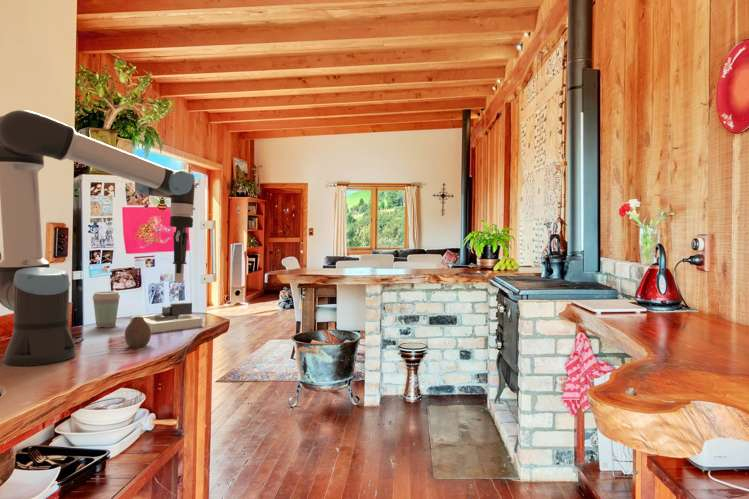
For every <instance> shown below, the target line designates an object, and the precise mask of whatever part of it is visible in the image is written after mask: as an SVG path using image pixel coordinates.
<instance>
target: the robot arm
mask: <svg viewBox="0 0 749 499" xmlns="http://www.w3.org/2000/svg"><path fill="white" fill-rule="evenodd" d="M44 157H48V158H51V159H52V158H53V159H55V160H58V161H63V160H70V161H73V162H75V163H78V164H82V165H84V166H87V167H90V168H94V169H97V170H98V171H99V170H100V171H102V172H105V173H108V174H111V175H114V176H116V177H120V178H122V179H125V180H128V181H131V182H133V183H134V189H135V191H136V193H137V194H138V195H143V196H147V197H148V196H149V197H158V198H167V199H170V212H169V213H170V214H169V215H171V216H169V226H170V227H173V228H175V231H174V232H173V236H172V238H173V262H172V264H173V265H174V283H178V284H180V283H181V284H183V283H184V276H185V275H184V273H185V265H187V264H188V263H187V262H186V261H187V259H186V256H187V248H188V247H187V246H188V240H189V233H188V232H187V228H190V229H192V228H193V227H194V226H193V225H194V218H193V217H192V216H194V211H195V210H196V207H194V206H195V205H194V203H195V201H194V200H195V188H196V184H195V181H196V180H195V175H194V173H191V172H187V171H185V170H180V169H179V170H178V169H177V170H173V169H171V168H168V167H165V166H163V165H161V164H158V163H156V162H153V161H150V160H147V159H145V158H142V157H139V156H138V155H135V154H133V153H130V152H127V151H125V150H122V149H119V148H117V147H114V146H112V145H109V144H106V143H104V142H102V141H99V140H96V139H94V138H91V137H90V136H89V137H88V136H86V135H84V134H81V133H79V132H77V131H76V129H75V128H74V127H73V126H70V125H69V124H66V123H63V122H62V121H59V120H56V119H55V118H54V119H53V118H51V117H49V116H46V115H43V114H41V113H38V112H35V111H31V110H26V109H25V110H23V109H22V110H21V109H19V110H13V111H10V112H8V113H6V114H5V115H1V116H0V215H1V229H2V232H1V233H2V246H3V247H2V249H3V259H2V261H0V304H1V305H2V306H3V307H4V308H6V309H8V310H9V311H13V332H12V335H11V338H10V340H9V342H8V345H7V347H6V350H5V352H4V363H5V364H6V365H10V366H24V367H25V366H40V365H47V364H54V363H59V362H63V361H67V360H69V359H72V358H75V356H76V355H77V348H76V344H75V341H74V338H73V336H72V333H71V331H70V328H69V315H70V314H69V313H70V312H69V311H70V310H69V308H70V307H69V306H70V304H69V303H70V285H71V283H70V279H69V274H68V272H67V271H65V270H63V269H60V268H53V267H50V262H49V261H48V260H46V259H45V258H44V257H43V242H42V241H43V240H42V226H41V205H40V190H39V189H40V188H39V171H41V170H42V169H43V168H44V167H45V163H44V162H45V161H44V160H45V159H44Z"/></svg>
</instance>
